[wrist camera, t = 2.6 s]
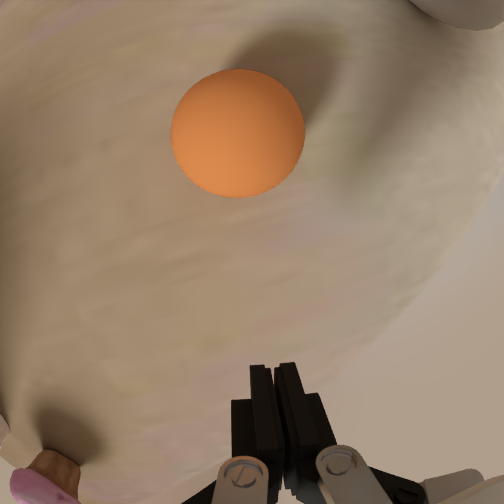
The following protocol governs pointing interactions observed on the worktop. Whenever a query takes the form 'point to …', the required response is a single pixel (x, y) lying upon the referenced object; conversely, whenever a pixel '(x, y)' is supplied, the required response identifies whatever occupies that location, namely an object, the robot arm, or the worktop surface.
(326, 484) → the robot arm
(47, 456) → the cupcake
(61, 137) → the worktop surface
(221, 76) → the ball
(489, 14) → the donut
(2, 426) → the cylindrical container
